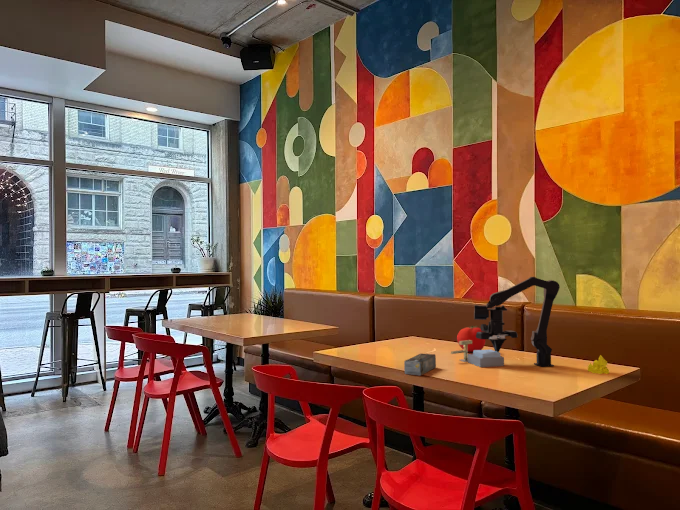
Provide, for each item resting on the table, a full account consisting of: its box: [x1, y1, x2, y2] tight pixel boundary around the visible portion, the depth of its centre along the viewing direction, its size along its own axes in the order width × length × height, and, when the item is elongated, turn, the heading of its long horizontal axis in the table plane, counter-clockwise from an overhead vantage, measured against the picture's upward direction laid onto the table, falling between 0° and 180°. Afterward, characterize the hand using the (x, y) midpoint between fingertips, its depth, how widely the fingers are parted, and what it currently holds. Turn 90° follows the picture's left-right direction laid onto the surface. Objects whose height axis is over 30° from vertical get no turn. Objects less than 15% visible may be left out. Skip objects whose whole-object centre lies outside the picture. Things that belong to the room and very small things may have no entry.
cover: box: [472, 349, 501, 358], centre depth 241 cm, size 9×9×2 cm
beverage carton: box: [403, 353, 437, 376], centre depth 229 cm, size 8×19×7 cm, turn 149°
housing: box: [459, 353, 505, 368], centre depth 245 cm, size 18×13×4 cm
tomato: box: [456, 325, 486, 353], centre depth 275 cm, size 16×14×14 cm
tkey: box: [450, 340, 472, 360], centre depth 249 cm, size 13×2×9 cm, turn 121°
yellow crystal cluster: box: [587, 354, 610, 375], centre depth 223 cm, size 6×8×8 cm
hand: (496, 353), depth 242 cm, fingers closed
